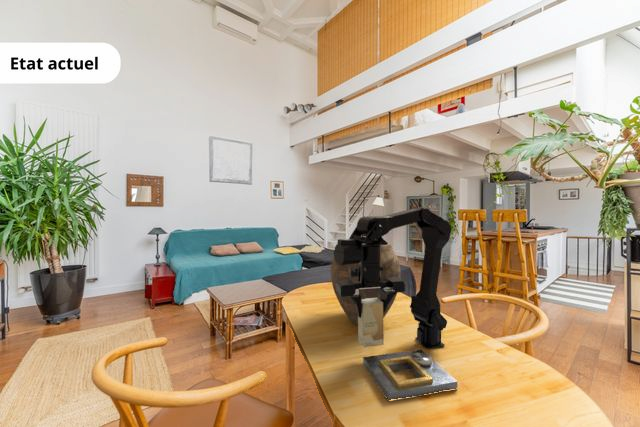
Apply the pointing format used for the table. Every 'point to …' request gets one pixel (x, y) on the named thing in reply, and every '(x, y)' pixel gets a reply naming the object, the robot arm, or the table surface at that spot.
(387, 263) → the vase
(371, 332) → the skincare box
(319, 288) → the table surface
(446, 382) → the grey slotted board
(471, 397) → the table surface
